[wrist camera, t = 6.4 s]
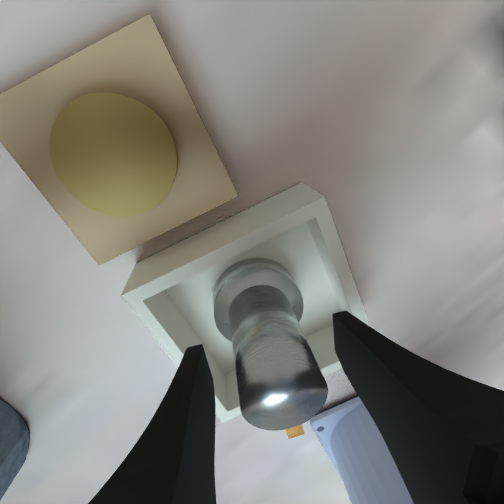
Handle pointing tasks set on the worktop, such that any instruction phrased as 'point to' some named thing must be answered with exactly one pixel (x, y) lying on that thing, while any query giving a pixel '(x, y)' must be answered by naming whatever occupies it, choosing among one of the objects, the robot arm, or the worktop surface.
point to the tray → (230, 252)
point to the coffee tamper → (269, 345)
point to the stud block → (115, 142)
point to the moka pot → (11, 445)
